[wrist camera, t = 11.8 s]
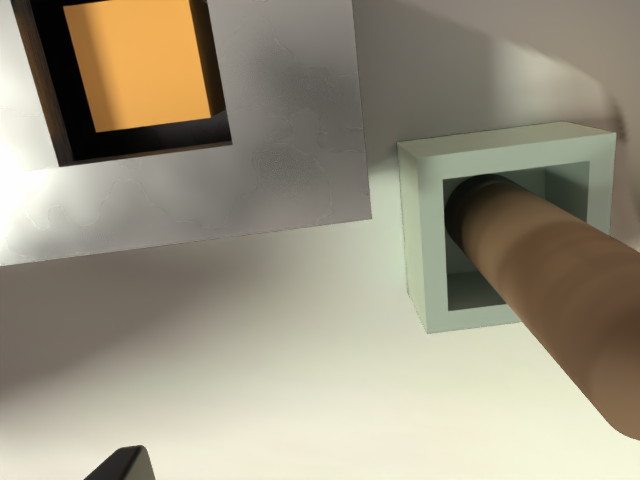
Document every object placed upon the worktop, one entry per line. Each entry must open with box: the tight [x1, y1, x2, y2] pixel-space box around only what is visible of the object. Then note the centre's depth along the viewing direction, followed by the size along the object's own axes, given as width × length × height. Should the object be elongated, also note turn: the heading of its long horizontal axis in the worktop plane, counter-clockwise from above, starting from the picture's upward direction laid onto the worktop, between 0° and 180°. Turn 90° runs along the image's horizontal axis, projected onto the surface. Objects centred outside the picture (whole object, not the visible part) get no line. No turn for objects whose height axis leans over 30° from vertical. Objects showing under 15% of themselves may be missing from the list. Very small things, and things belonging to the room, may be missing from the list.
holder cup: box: [397, 121, 616, 334], centre depth 19 cm, size 6×6×4 cm
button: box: [63, 0, 226, 132], centre depth 16 cm, size 3×3×4 cm
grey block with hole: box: [0, 0, 372, 266], centre depth 16 cm, size 10×12×6 cm
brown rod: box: [444, 173, 640, 440], centre depth 15 cm, size 3×3×11 cm
